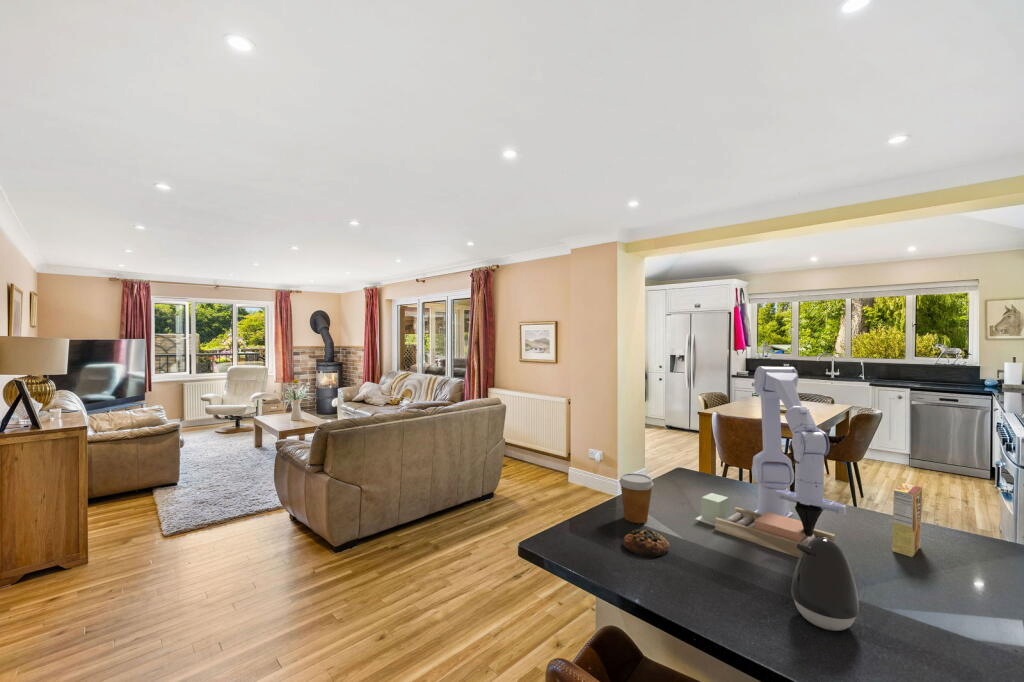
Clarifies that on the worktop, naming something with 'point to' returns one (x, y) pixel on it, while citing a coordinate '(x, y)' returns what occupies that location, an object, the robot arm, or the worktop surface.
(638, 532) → the bread roll
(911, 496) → the candy box
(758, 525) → the slab
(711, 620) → the worktop surface
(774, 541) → the roller bed
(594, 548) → the worktop surface
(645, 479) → the disposable coffee cup
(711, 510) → the block
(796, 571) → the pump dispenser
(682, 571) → the worktop surface
